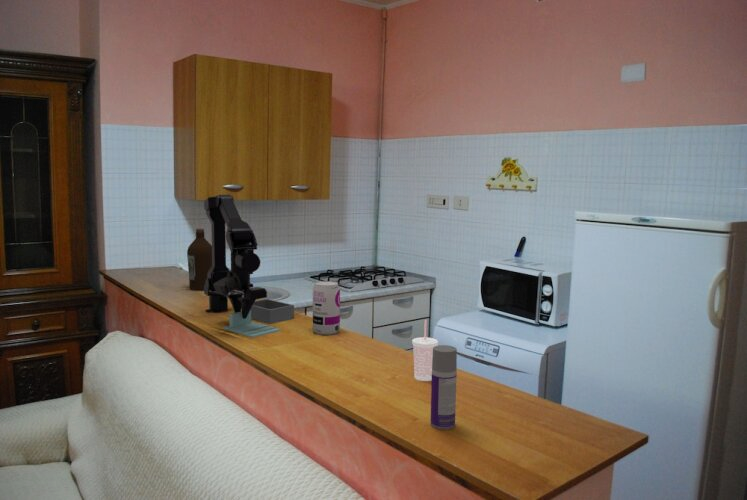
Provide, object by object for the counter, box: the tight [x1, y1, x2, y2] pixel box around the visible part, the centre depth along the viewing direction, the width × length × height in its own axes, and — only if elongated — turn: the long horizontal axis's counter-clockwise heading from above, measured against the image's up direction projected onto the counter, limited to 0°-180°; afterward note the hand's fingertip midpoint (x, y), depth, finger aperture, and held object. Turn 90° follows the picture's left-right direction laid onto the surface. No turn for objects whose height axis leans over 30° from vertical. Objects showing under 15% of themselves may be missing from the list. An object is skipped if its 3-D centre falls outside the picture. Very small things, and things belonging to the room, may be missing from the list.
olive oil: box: [186, 228, 212, 292], centre depth 239 cm, size 11×11×25 cm
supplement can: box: [312, 280, 341, 336], centre depth 175 cm, size 8×8×15 cm
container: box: [430, 344, 458, 431], centre depth 110 cm, size 5×5×15 cm
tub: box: [250, 298, 295, 325], centre depth 191 cm, size 14×10×5 cm
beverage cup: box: [411, 319, 439, 382], centre depth 136 cm, size 6×6×14 cm
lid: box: [222, 310, 281, 339], centre depth 175 cm, size 14×10×6 cm
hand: (241, 317), depth 178 cm, fingers open, 3 cm apart
